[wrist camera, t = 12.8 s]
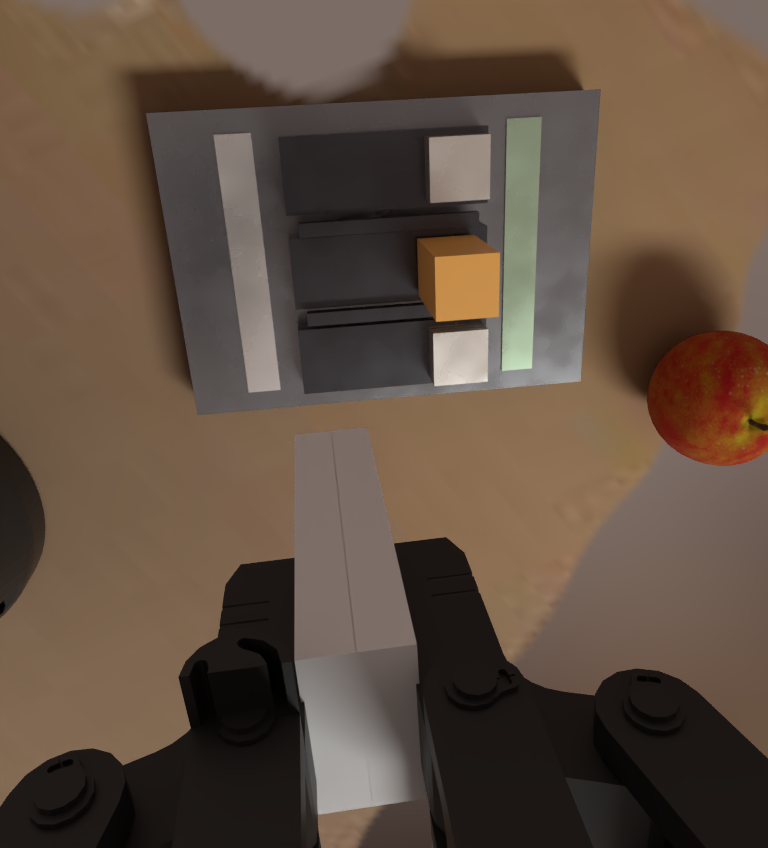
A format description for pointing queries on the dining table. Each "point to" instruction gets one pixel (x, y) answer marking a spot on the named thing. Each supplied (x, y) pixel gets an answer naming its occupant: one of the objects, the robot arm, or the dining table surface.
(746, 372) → the fruit
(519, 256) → the panel
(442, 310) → the block
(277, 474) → the dining table surface
